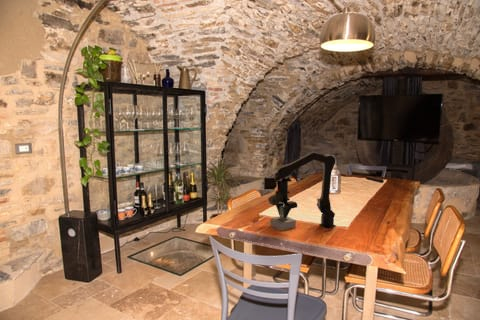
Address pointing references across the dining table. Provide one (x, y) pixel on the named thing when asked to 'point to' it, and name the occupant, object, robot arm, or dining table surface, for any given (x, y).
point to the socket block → (282, 223)
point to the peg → (282, 214)
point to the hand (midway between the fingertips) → (282, 216)
